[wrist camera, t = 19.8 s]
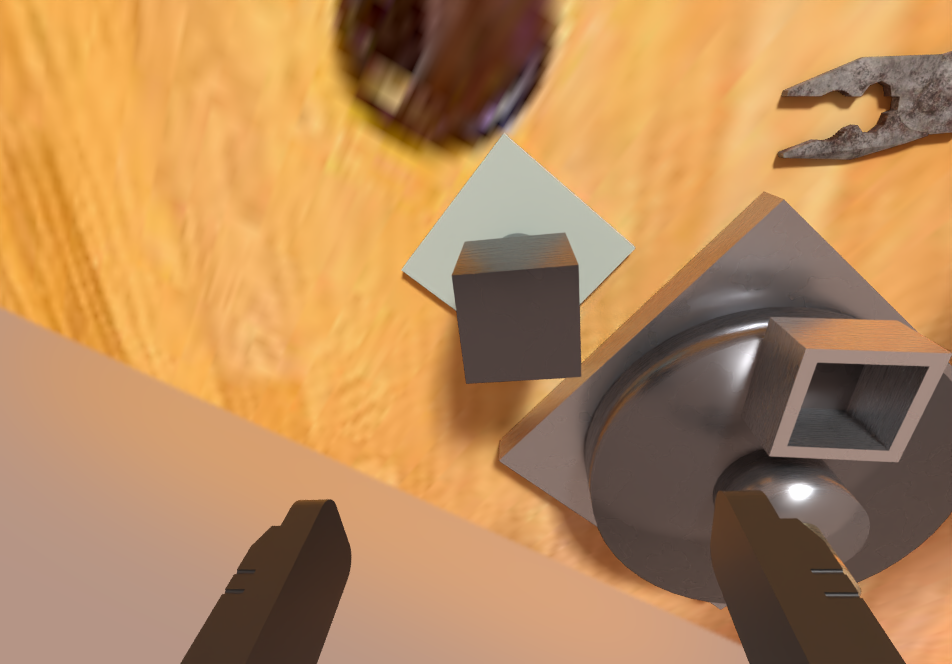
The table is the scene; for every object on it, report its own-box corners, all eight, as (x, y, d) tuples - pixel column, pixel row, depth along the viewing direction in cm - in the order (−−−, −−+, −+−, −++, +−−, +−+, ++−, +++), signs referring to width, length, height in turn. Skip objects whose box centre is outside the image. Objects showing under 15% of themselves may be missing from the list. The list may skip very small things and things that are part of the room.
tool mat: (503, 133, 24) (503, 133, 23) (633, 244, 26) (635, 248, 25) (403, 266, 27) (401, 269, 27) (523, 356, 29) (523, 360, 29)
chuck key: (471, 223, 25) (451, 275, 17) (557, 214, 25) (578, 264, 17) (480, 302, 27) (466, 383, 19) (561, 296, 27) (581, 377, 19)
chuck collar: (604, 288, 25) (647, 383, 17) (1001, 298, 23) (1256, 406, 15) (572, 553, 33) (589, 699, 25) (859, 571, 32) (973, 731, 24)
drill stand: (764, 191, 24) (783, 199, 22) (993, 416, 29) (1024, 438, 27) (499, 440, 32) (498, 460, 31) (710, 584, 37) (720, 609, 35)
